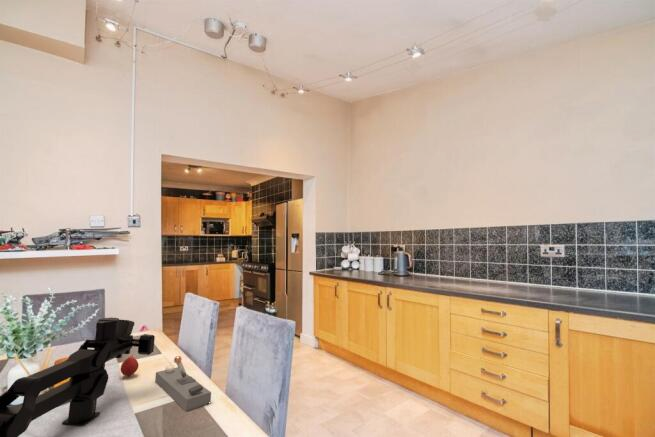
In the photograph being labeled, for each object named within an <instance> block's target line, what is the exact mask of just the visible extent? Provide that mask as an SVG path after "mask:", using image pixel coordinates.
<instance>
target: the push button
mask: <svg viewBox="0 0 655 437" xmlns="http://www.w3.org/2000/svg"><path fill="white" fill-rule="evenodd" d="M174 368H175V365H173V364H169V365H165V369H164V370H165V372H166V373H172V372H174Z"/></svg>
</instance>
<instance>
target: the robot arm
mask: <svg viewBox="0 0 655 437" xmlns="http://www.w3.org/2000/svg"><path fill="white" fill-rule="evenodd" d="M134 326H135V321H133V320H129V319H120V318H118V317H104V318H99V319H98V320H97V322H96V326H95V329H96V330H95V338H93V339H86V340H84V342H83V343H82V344H81V345H80V346H79V348H78V349H77V350H76V351H75V352H73V353H71V354H69V356H68V358H67V359H65V360H64V361H61V362H59V363H57V364H55V365H51V366H49V367H46V368H44V369H42V370H39V371H38V372H35V373H32V374H29V375H27V376H23V377H20V378H17V379H16V380H14V382H13V383H12V384H11V385H10V387H9V388H8V389H7V390H6V391H4V393H2V394H1V395H0V437H19V436H20V435H22V434H23V433H25V432H26V431H27V429H29V428H28V427H29V426H30V424H31V423H32V422H33V421H34V420H36V419H39V418H40V417H42V416H43V415H45V414H47V413H49V412H51V411H53V410H54V409H56V408H58V407H59V406H62V405H63V404H65V403H67V402H69V407H68V408H69V409H68V417H67V418H66V419H65V420H63V421H62V422H61V424H62V425H72V426H86V425H87V424H88V423H90V422H91V421H93V420H94V419H95V418H97V417H98V416H100V415H101V412H98V411H96V410H97V402H98V399H99V398H100V397H102V396H103V395H104V394H105V390H106V388H107V387H106V386H107V384H108V381H109V374H108V370H107V369H106V367H105V366H106V363H108V362H110V361H111V360H113V359H121V358H122V357H123V355H131V354H130V353H131V349H132V348H133V347H136V348H137V347H138V348H137V353H138V355H142V356H144V355H145V356H149V355H151V354H153V353H154V348H155V340H156V336H154V334H147V333H146V334H142V335H140V336H139V338H134V335H133V334H132V333H133V329H134ZM66 380H67V381H66ZM64 381H65V382H64ZM61 382H62V384H61ZM57 384H59V385H57ZM56 385H57V386H56ZM53 386H55V387H53ZM51 387H53V388H51ZM50 388H51V389H50ZM47 389H48V390H47ZM45 390H47V391H45ZM42 391H45V392H42ZM41 392H42V393H41ZM19 397H23V400H22V403H19V404H16V405H11V404H12V403H13V402H15V401H16V400H18V398H19Z"/></svg>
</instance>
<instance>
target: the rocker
mask: <svg viewBox="0 0 655 437" xmlns="http://www.w3.org/2000/svg"><path fill="white" fill-rule="evenodd" d="M200 384H201V383H200ZM200 384H199V385H197V386H195V387H192V388H190V389H189V393H190V394H192V395H193V394H195V393H197V392H199V391H201V390H203V387H204V386H203V385H202V384H201V385H202V386H203V387H202V386H201V385H200Z"/></svg>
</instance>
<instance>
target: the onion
mask: <svg viewBox="0 0 655 437" xmlns="http://www.w3.org/2000/svg"><path fill="white" fill-rule="evenodd" d="M138 369H139V362H138V360H137V359H136V358H135V357H134V356H133V354H129V356H128V358H126V359H125V360H124V361H123V362H122V363H121V365H120V372H121V374H123V376H125V377H127V378H130V377H131V376H132V375H134V374H135V373H136V372H137V370H138Z"/></svg>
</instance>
